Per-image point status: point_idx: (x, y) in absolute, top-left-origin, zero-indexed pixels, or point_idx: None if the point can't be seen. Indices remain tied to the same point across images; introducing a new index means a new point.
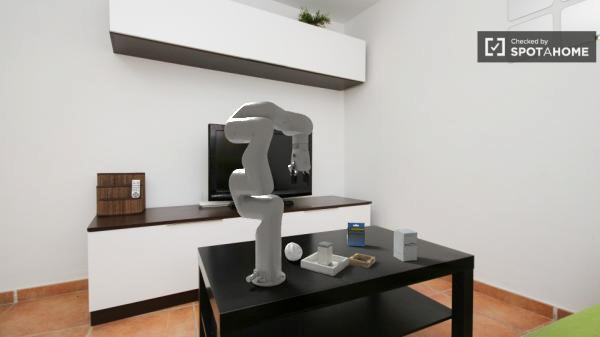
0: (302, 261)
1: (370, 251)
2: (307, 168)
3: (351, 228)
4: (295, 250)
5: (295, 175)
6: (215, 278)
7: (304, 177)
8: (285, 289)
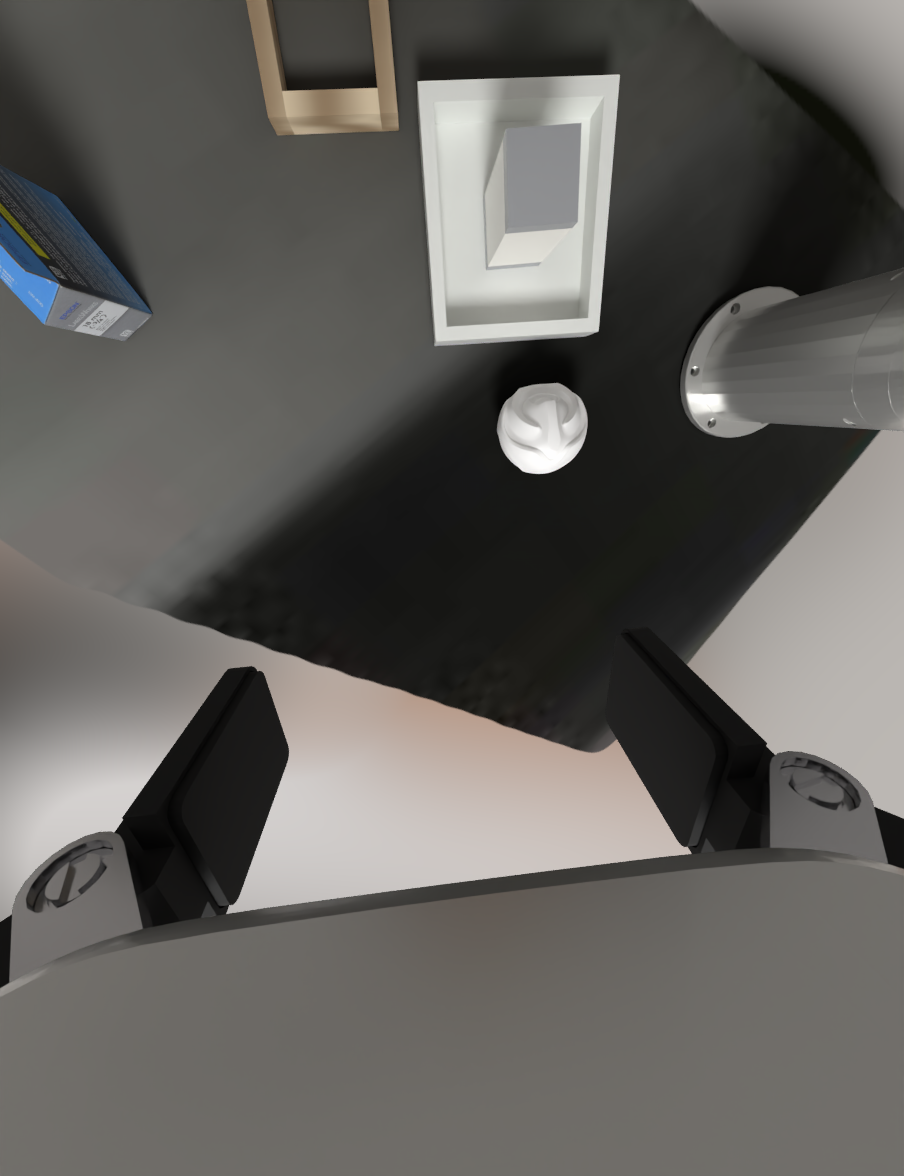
0: (598, 320)
1: (103, 96)
2: (203, 1065)
3: (37, 252)
4: (564, 401)
5: (751, 771)
6: (793, 523)
7: (247, 811)
8: (799, 234)
